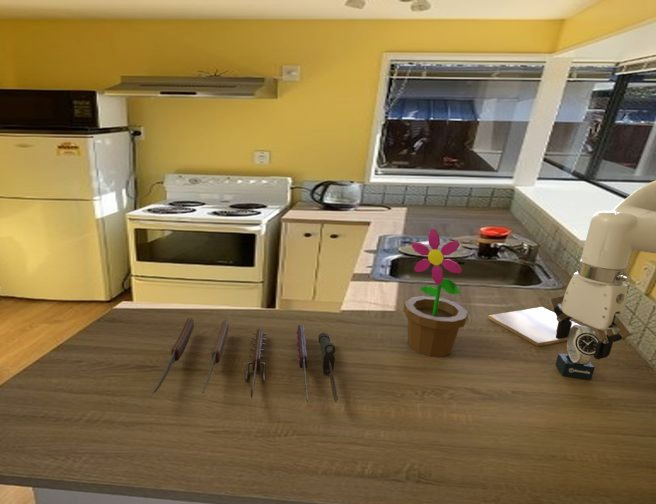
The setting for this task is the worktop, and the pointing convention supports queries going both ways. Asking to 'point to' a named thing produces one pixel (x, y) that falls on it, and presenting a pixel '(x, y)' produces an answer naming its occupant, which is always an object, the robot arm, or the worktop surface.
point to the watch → (578, 353)
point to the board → (531, 325)
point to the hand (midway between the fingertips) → (580, 347)
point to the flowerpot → (435, 303)
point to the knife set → (256, 354)
